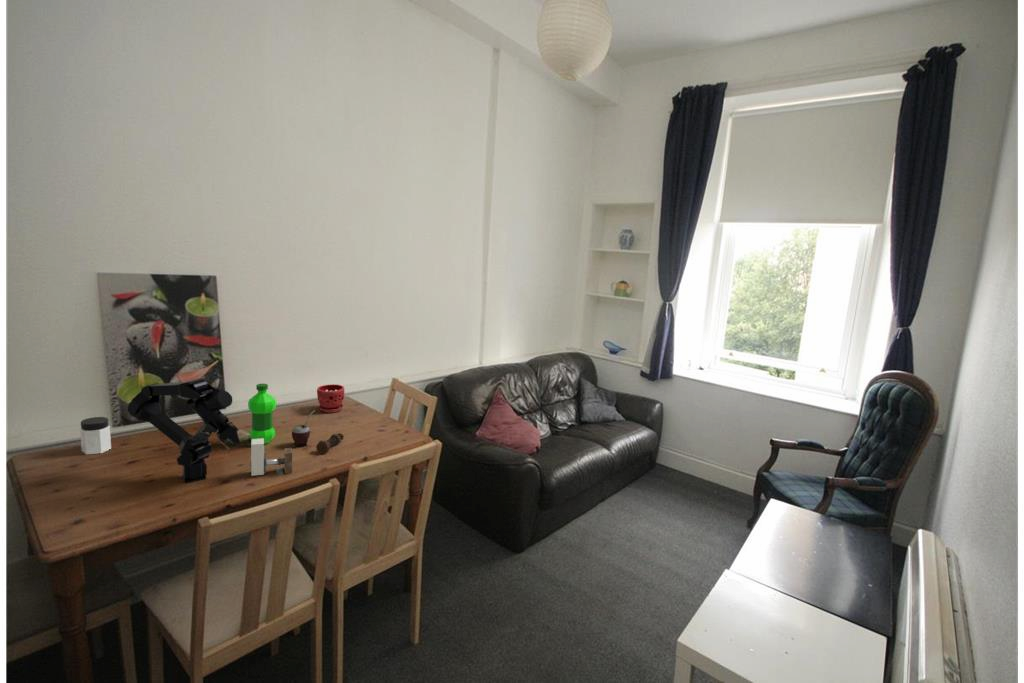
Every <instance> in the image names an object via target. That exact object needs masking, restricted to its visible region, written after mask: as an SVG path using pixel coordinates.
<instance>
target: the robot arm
mask: <svg viewBox="0 0 1024 683" xmlns="http://www.w3.org/2000/svg"><path fill="white" fill-rule="evenodd" d="M161 396H180V398H185V399H188V400H187V401H186V402H185V403H186V404H185V408H184V409H185V410H189V409H192V411H193V412H195V414H197V416H198V417H199V418H201V421H202V422H203V424H201V425H200V427H199V428H198V429H197V431H196V432H195V434H194V435H192V434H190V433H189V432H188V431H186V430H185V429H184V428H183V427H181V426H180V425H179V423H176V422H175V421H174V420H173V419H171V418H170V417H168V415H167V414H165V413H164V412H162V408H161V405H160V402H161V401H162V400H161V399H162V398H161ZM232 404H233V396H232V394H230V392H228V391H227V390H224V387H220V388H215V387H214V386H213V385H212V384H210V383H209V382H208V381H206V379H205V378H202V377H200V378H196V379H192V380H189V381H184V382H169V383H168V382H166V383H165V382H164V383H158V382H155V383H151V384H147V385H145V386H142V389H141V391H139V393H137V395H135V396H134V397H133V398H132V399H131V401H130V402H129V403H128V405H127V412H128V414H129V415H130V416H132V417H133V418H135V419H136V420H139V421H143V422H147V423H150V424H151V425H152V426H154V427H155V428H156V429H157V430H158V431H159V432H161V433H162V434H163V435H165V436H166V437H167V438H168V439H170V440H171V441H173V443H175V444H176V445H177V446H178V448H179V452H180V455H179V456H178V457H177V458H176V462H177V465H179V466H181V467H182V479H183V481H184V483H185V484H187V483H191V482H198V481H201V480H206V479H207V475H208V471H207V470H208V469H207V467H208V466H207V462H206V461H205V460H206V459H209V458H210V456H211V455H210V454H211V453H212V448H213V447H212V443H211V442H210V441H209V438H210V437H211V435H212V433H213V434H216V437H217V438H218V439H219V440H220V442H222V443H223V442H225V441H227V440H229V441H231V442H233V443H234V444H236V445H239V444H240V443H241V441H240V437H239V434H238V431H239V428H238V427H237V426H236V425H235V424H234V423H233V422H232V421H230V420H229V417H227V415H226V414H225V413H222V411H221V410H223V409H225V408H229V407H230V406H231V405H232Z"/></svg>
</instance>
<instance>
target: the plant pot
mask: <svg viewBox="0 0 1024 683" xmlns="http://www.w3.org/2000/svg"><path fill="white" fill-rule="evenodd" d="M316 393H317V395H316V396H317V401H318V403H319V407H318V408H319V410H320V411H321V412H324V413H337V412H340V411H342V409H343V408H344V405H343V402H344V398H345V387H344V386H343V385H341V384H325V385H320V386H318V387H317V389H316Z"/></svg>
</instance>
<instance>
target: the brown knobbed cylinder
mask: <svg viewBox="0 0 1024 683" xmlns="http://www.w3.org/2000/svg"><path fill="white" fill-rule="evenodd" d="M342 440H344V435H343V434H342V433H339V432H338V433H333V434H331V436H330V437H329V439H327V440H321V439H320V440H319V441H318V443H317V444H316V445H315V447H316V450H317V452H318V453H320V454H324V453H325V454H327V453H329V451H330V450H331V447H333V446H339V444H340V443H341V442H342Z"/></svg>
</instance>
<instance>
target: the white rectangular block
mask: <svg viewBox="0 0 1024 683" xmlns="http://www.w3.org/2000/svg"><path fill="white" fill-rule="evenodd" d="M250 446H251V448H250V449H251V453H250V455H251V459H250V461H251V467H250V468H251V477H252V476H253V477H254V476H262V475H263V476H264V474H265V473H266V471H267V468H266V467H267V466H266V460H267V454H266V453H265V444H264V438H261V439H251V444H250Z"/></svg>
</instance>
